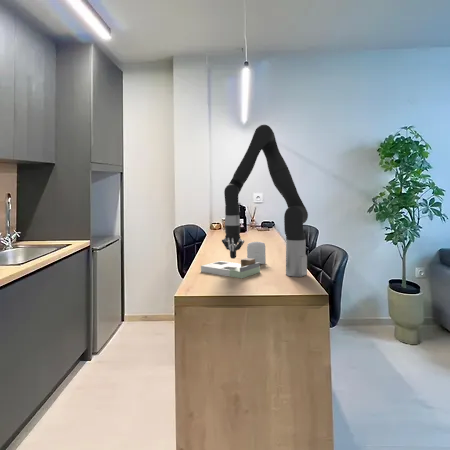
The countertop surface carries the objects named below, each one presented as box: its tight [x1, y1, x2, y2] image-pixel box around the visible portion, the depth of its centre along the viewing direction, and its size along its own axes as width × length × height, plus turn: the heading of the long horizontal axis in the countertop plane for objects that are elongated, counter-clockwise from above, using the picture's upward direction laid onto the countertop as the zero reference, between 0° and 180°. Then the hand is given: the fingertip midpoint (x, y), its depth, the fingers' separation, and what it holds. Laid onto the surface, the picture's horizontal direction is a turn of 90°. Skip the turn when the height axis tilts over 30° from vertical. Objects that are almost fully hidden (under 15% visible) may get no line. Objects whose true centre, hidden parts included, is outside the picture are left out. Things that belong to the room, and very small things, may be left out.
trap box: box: [200, 260, 261, 279], centre depth 189 cm, size 25×16×5 cm, turn 53°
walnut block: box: [240, 257, 255, 267], centre depth 186 cm, size 5×5×4 cm
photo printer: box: [246, 241, 267, 265], centre depth 209 cm, size 10×4×12 cm, turn 96°
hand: (233, 258), depth 191 cm, fingers closed
